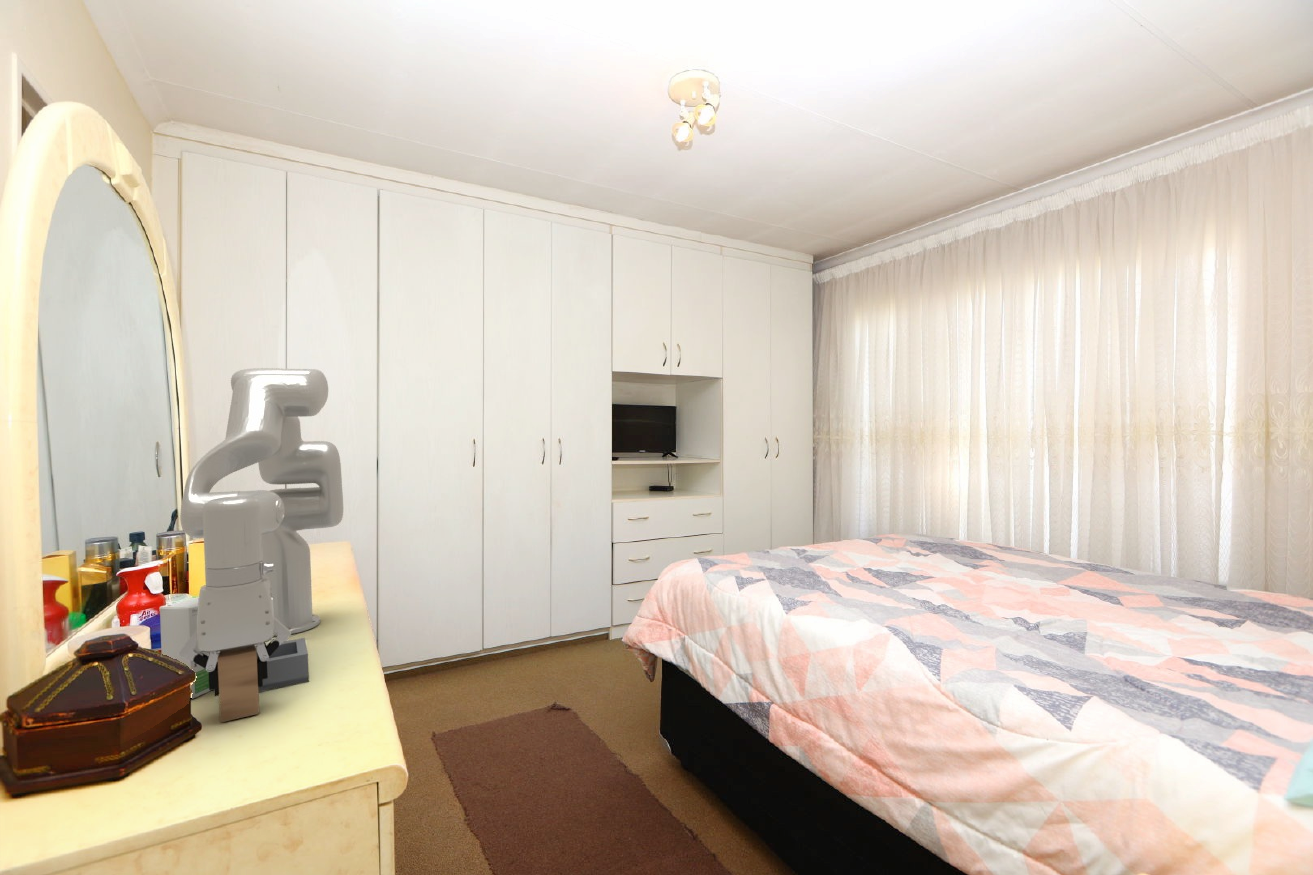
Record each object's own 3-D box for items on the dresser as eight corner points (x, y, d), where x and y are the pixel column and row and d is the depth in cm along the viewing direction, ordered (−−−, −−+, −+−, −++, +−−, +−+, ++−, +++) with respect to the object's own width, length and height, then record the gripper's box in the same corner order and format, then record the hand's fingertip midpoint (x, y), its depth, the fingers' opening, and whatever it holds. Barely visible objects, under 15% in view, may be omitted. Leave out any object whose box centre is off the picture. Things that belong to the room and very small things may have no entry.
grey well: (243, 675, 114) (242, 648, 113) (305, 663, 119) (304, 637, 119) (241, 695, 105) (240, 666, 105) (308, 681, 110) (307, 653, 110)
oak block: (222, 709, 99) (219, 648, 99) (259, 701, 102) (256, 641, 102) (220, 722, 95) (217, 658, 95) (258, 713, 98) (256, 651, 97)
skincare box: (191, 700, 104) (187, 608, 103) (159, 698, 105) (155, 607, 105) (235, 680, 112) (231, 594, 111) (204, 677, 113) (201, 593, 113)
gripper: (295, 562, 106) (299, 667, 106) (169, 578, 96) (174, 693, 97) (297, 571, 99) (302, 683, 100) (163, 589, 90) (168, 712, 91)
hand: (239, 687), depth 98 cm, fingers closed on oak block, 5 cm apart
